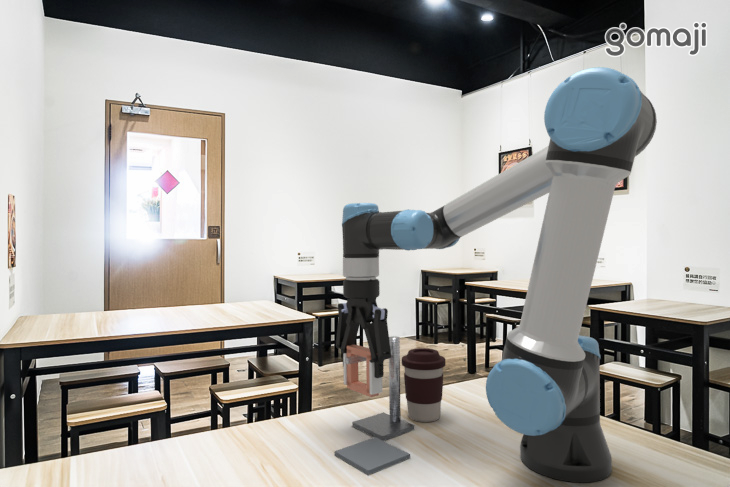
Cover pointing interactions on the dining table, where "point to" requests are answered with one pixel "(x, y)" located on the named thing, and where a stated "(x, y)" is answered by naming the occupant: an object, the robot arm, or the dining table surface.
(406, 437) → the dining table surface
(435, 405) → the coffee cup
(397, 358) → the stand
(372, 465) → the coaster
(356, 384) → the link
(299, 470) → the dining table surface
